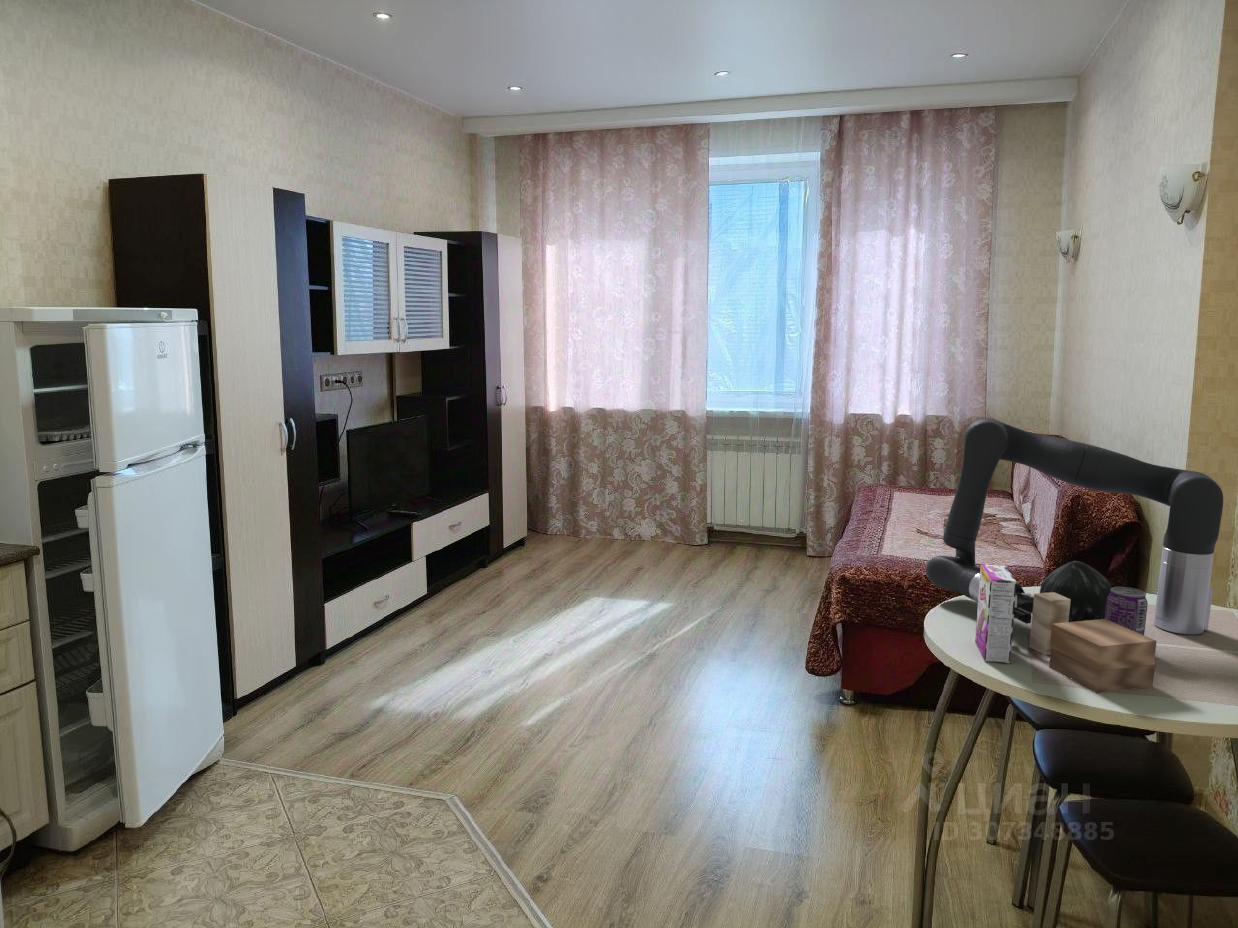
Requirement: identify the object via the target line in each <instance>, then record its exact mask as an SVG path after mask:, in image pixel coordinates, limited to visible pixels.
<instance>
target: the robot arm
mask: <svg viewBox="0 0 1238 928" xmlns="http://www.w3.org/2000/svg"><path fill="white" fill-rule="evenodd" d="M963 445H964V447H963V459H962V467H961V473H960V477H959V482H958V486H957V489H956V492H955V495H954V498H953V501H952V504H951V507H950V509H949V513H948V517H947V520H946V524H945V529H944V532H943V536H942V540H943V541H942V542H943V543H944V544H945V546H948V547H950V548H952V549H954V550H955V556H948V555H936V556H934V557H932V558H931V559H929V560H928V563H927V565H926V567H925V570H926V572H925V573H926V575H927V578H928V579H929V581H930V582H931V583H932V584H933V585H935V586H936V587H938V588H940V589H943V590H946V591H949V592H953V593H954V592H955V593H956V594H957V593H958V594H961V595H963V596H965V597H966V598H969V599H971V600H972V601H975V602H976V603H977V604H978V596H979V581H980V567H978V566H976V541H977V538H978V534H979V530H980V526H981V523H982V519H983V514H984V511H985V504H986V499H987V493H988V490H989V487H990V483H991V480H992V477H993V476H994V472H995V471H996V468H997V466H998V465H999V462H1000V460H1001V461H1007V462H1011V463H1017V464H1020V465H1024V466H1027V467H1028V468H1029V467H1030V468H1032V469H1033V470H1036V471H1038V472H1041V473H1043V474H1045V475H1047V476H1048V477H1050V478H1051V477H1052V478H1054V479H1055V480H1056V479H1057V480H1059V481H1062V482H1064V483H1067V484H1070V485H1072V486H1073V485H1074V486H1077V487H1081V488H1085V489H1088V490H1091V491H1092V490H1094V491H1097V492H1103V493H1112V494H1113V493H1114V494H1125V495H1132V496H1133V495H1134V496H1138V497H1141V498H1146V499H1148V500H1151V501H1154V502H1158V503H1161V504H1163V505H1165V506H1168V507H1169V514H1168V519H1167V520H1168V521H1167V528H1166V530H1165V533H1164V535H1163V541H1162V550H1161V551H1162V552H1161V560H1160V561H1161V562H1160V567H1159V568H1160V569H1159V574H1158V575H1159V576H1158V577H1159V578H1158V586H1157V594H1156V600H1155V601H1156V602H1155V609H1154V617H1153V618H1154V619H1153V624H1154V625H1155V626H1156V627H1157V628H1159V629H1161V630H1165V631H1168V632H1172V633H1175V634H1182V635H1200V634H1203V633H1204V632H1205V631H1208V630H1209V623H1210V615H1211V607H1212V599H1213V592H1214V587H1213V586H1212V585H1211V578H1212V571H1213V561H1214V554H1215V550H1216V549H1215V548H1216V545H1217V542H1218V539H1219V534H1220V529H1221V522H1222V517H1223V509H1224V493H1223V490H1222V489H1221V486H1220V485H1219V484H1218V483H1217V482H1216V481H1215V480H1214V479H1213V478H1211V477H1210V476H1209V475H1207V474H1205V473H1202V472H1200V471H1193V470H1188V469H1181V468H1174V467H1169V466H1162V465H1159V464H1153V463H1149V462H1146V461H1142V460H1140V459H1138V458H1134V457H1131V456H1130V455H1129V456H1128V455H1126V454H1122V453H1121V452H1120V453H1119V452H1117V451H1114V450H1111V449H1108V448H1103V447H1100V446H1096V445H1092V444H1088V443H1084V442H1079V441H1077V440H1076V441H1075V440H1072V439H1071V440H1070V439H1065V438H1061V437H1056V436H1055V437H1054V436H1048V435H1043V434H1042V435H1041V434H1037V433H1033V432H1029V431H1027V430H1024V429H1022V428H1018V427H1015V426H1012V425H1009V424H1007V423H1005V422H1002V421H1000V420H996V419H994V418H990V417H989V418H988V417H985V418H984V417H982V418H979V419H976V420H975V421H973V422H972V423H971V424H970V425H969V426H968V427H967V428H966V430H965V432H964V434H963ZM1033 602H1034V595H1032V594H1030V593H1027V592H1025V591H1024V589H1023V587H1022V585H1020V584H1019V583H1018V582H1017V584H1016V594H1015V608H1014V620H1018V621H1019V622H1021V623H1023V624H1026V625H1027V624H1028V625H1029V624H1030V625H1031V623H1032V613H1033ZM1204 630H1205V631H1204Z"/></svg>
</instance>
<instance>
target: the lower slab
mask: <svg viewBox="0 0 1238 928" xmlns="http://www.w3.org/2000/svg"><path fill="white" fill-rule="evenodd" d="M1048 668H1049V669H1051V670H1053V671H1055V672H1057V673H1059V674H1060V673H1061V675H1062V674H1063V675H1062V676H1064V675H1065V676H1064V677H1066V676H1067V677H1066V678H1067V679H1070V678H1072V679H1073V680H1075V681H1077V682H1078V684H1079V683H1080V684H1079V685H1081V686H1083V687H1085V688H1087V689H1089V690H1091V691H1092V692H1094V693H1096V694H1102V693H1109V692H1119V691H1129V690H1135V689H1136V690H1139V689H1145V688H1153V686H1154V681H1155V671H1156V670H1155V669H1156V664H1154V665H1148V666H1139V667H1129V668H1120V669H1111V670H1102V671H1097V670H1095V669H1093V668H1091V667H1089V666H1087V665H1085V664H1083V663H1081V662H1079V661H1077V660H1075V659H1073V658H1071V657H1069V656H1067V655H1065V654H1063V653H1061V652H1059V651H1057V650H1055V649H1053V648H1051V654H1050V655H1049V667H1048ZM1072 679H1071V680H1072ZM1073 680H1072V681H1073ZM1075 681H1074V682H1075ZM1077 682H1076V683H1077Z"/></svg>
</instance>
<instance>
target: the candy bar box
mask: <svg viewBox="0 0 1238 928" xmlns="http://www.w3.org/2000/svg"><path fill="white" fill-rule="evenodd" d="M979 568H980V581H979V596H978V603H977V610H976V611H977V615H976V626H975V638H974V639H975V640H974V642H975V644H976V646H977V648H978V650H979V652H980V654H981V656H982V659H983V661H984V662H986V663H995V664H996V663H997V664H1011V657H1012V656H1011V655H1012V654H1011V653H1012V643H1013V630H1014V620H1015V619H1014V608H1015V594H1016V584H1017V583H1018V582H1017V580H1016V579H1015V578H1014V576H1013V574H1012V573H1011V571H1009V569H1008V568H1007V566H1006V565H1003V564H1002V565H1001V564H989V563H983V564H980V567H979Z"/></svg>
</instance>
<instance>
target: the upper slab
mask: <svg viewBox="0 0 1238 928" xmlns="http://www.w3.org/2000/svg"><path fill="white" fill-rule="evenodd" d="M1050 647H1051V648H1053V649H1055V650H1057V651H1059V652H1061V653H1063V654H1065V655H1067V656H1069V657H1071V658H1073V659H1075V660H1077V661H1079V662H1081V663H1083V664H1085V665H1087V666H1089V667H1091V668H1093V669H1095V670H1097V671H1102V670H1111V669H1120V668H1129V667H1139V666H1148V665H1155V657H1156V651H1157V650H1156V648H1157V640H1155V639H1154V638H1151V637H1149V636H1146V635H1145V634H1144V635H1142V634H1139V633H1137V632H1135V631H1132V630H1130V629H1128V628H1125V627H1123V626H1121V625H1118V624H1116V623H1114V622H1111V621H1109V620H1106V619H1098V620H1087V621H1076V622H1065V623H1054V624H1052V629H1051V639H1050Z"/></svg>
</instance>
